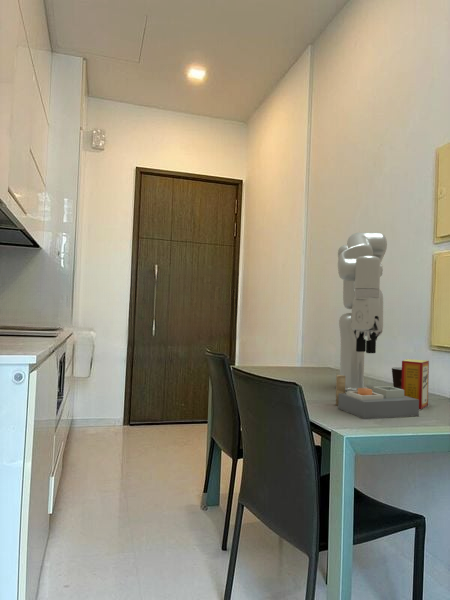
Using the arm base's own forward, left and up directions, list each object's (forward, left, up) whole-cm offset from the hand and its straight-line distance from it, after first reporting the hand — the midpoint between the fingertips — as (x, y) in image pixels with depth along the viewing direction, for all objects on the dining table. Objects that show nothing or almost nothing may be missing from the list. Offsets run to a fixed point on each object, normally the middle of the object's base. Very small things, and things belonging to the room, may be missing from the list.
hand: (365, 351), depth 142 cm
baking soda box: (-6, +25, -20) cm, 32 cm away
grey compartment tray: (0, +5, -19) cm, 20 cm away
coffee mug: (-25, +38, -20) cm, 50 cm away
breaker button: (0, 0, -16) cm, 16 cm away
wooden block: (-12, -1, -19) cm, 23 cm away
